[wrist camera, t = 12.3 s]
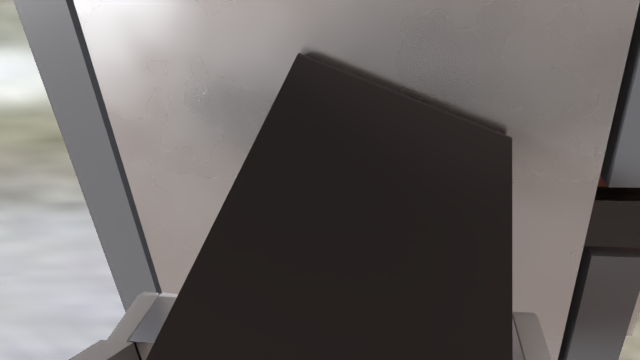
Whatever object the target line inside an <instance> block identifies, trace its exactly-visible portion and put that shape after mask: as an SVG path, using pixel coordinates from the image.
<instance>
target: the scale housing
mask: <svg viewBox="0 0 640 360" xmlns="http://www.w3.org/2000/svg"><path fill="white" fill-rule="evenodd" d="M13 1H14V4H15V6H16V9H17V12H18V15H19V17H20V20H21V23H22V26H23V29H24V31H25V34H26V37H27V40H28V42H29V45H30V48H31V51H32V54H33V56H34V59H35V62H36V65H37V67H38V70H39V73H40V76H41V79H42V81H43V84H44V87H45V90H46V92H47V95H48V98H49V101H50V103H51V106H52V109H53V112H54V115H55V117H56V120H57V123H58V126H59V128H60V131H61V134H62V137H63V140H64V142H65V145H66V148H67V151H68V153H69V156H70V159H71V162H72V165H73V167H74V170H75V173H76V176H77V178H78V181H79V184H80V187H81V190H82V192H83V195H84V198H85V201H86V203H87V206H88V209H89V212H90V215H91V217H92V220H93V223H94V226H95V228H96V231H97V234H98V237H99V240H100V242H101V245H102V248H103V251H104V253H105V256H106V259H107V262H108V264H109V267H110V270H111V273H112V276H113V278H114V281H115V284H116V287H117V289H118V292H119V295H120V298H121V301H122V303H123V306H124V309H125V312H127V311H128V309H129V308H130V306H131V305H132V303H133V302H134V301H135V299H136V298H137V296H138V295H139V294H141V293H143V292H154V293H162V291H161V287H160V284H159V281H158V278H157V274H156V271H155V268H154V264H153V261H152V258H151V255H150V251H149V248H148V245H147V241H146V238H145V235H144V231H143V228H142V225H141V222H140V218H139V215H138V212H137V208H136V205H135V202H134V199H133V195H132V192H131V189H130V185H129V182H128V179H127V176H126V172H125V169H124V166H123V162H122V159H121V156H120V153H119V149H118V146H117V143H116V139H115V136H114V133H113V129H112V126H111V123H110V120H109V116H108V113H107V110H106V106H105V103H104V100H103V97H102V93H101V90H100V87H99V83H98V80H97V77H96V74H95V70H94V67H93V64H92V60H91V57H90V54H89V50H88V47H87V44H86V41H85V37H84V34H83V31H82V27H81V24H80V21H79V18H78V14H77V11H76V8H75V4H74V1H73V0H13ZM600 176H601V177H602V179H603V180H604V182H605V183H606V184H607V186H608V187H619V188H640V3H639V7H638V12H637V16H636V20H635V25H634V29H633V33H632V38H631V42H630V46H629V51H628V55H627V60H626V64H625V68H624V73H623V77H622V81H621V86H620V90H619V94H618V99H617V103H616V108H615V112H614V116H613V121H612V125H611V129H610V134H609V138H608V142H607V147H606V151H605V156H604V160H603V164H602V169H601V173H600ZM639 312H640V248H631V247H597V246H584V247H583V252H582V256H581V260H580V265H579V269H578V273H577V278H576V282H575V286H574V291H573V295H572V300H571V304H570V308H569V313H568V317H567V321H566V326H565V330H564V334H563V339H562V343H561V348H560V352H559V356H558V360H618V359H619V355H620V352H621V349H622V346H623V343H624V340H625V336H626V335H627V336H632V334H633V331H634V328H635V325H636V322H637V319H638V315H639Z"/></svg>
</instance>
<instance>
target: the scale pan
mask: <svg viewBox="0 0 640 360" xmlns="http://www.w3.org/2000/svg"><path fill="white" fill-rule="evenodd" d="M73 1H74V4H75V8H76V11H77V14H78V18H79V21H80V24H81V27H82V31H83V34H84V37H85V41H86V44H87V47H88V50H89V54H90V57H91V60H92V64H93V67H94V70H95V74H96V77H97V80H98V83H99V87H100V90H101V93H102V97H103V100H104V103H105V106H106V110H107V113H108V116H109V120H110V123H111V126H112V129H113V133H114V136H115V139H116V143H117V146H118V149H119V153H120V156H121V159H122V162H123V166H124V169H125V172H126V176H127V179H128V182H129V185H130V189H131V192H132V195H133V199H134V202H135V205H136V208H137V212H138V215H139V218H140V222H141V225H142V228H143V231H144V235H145V238H146V241H147V245H148V248H149V251H150V255H151V258H152V261H153V264H154V268H155V271H156V274H157V278H158V281H159V284H160V287H161V291H162V293H172V294H179V292H180V290H181V288H182V286H183V284H184V282H185V280H186V278H187V276H188V274H189V272H190V270H191V268H192V266H193V264H194V262H195V260H196V258H197V256H198V254H199V252H200V250H201V248H202V246H203V244H204V242H205V240H206V238H207V236H208V234H209V232H210V229H211V227H212V225H213V223H214V221H215V219H216V217H217V215H218V213H219V211H220V209H221V207H222V205H223V203H224V201H225V199H226V197H227V195H228V193H229V191H230V189H231V187H232V185H233V183H234V181H235V179H236V177H237V175H238V173H239V171H240V169H241V167H242V165H243V163H244V161H245V159H246V157H247V155H248V153H249V151H250V149H251V147H252V145H253V143H254V141H255V139H256V137H257V135H258V133H259V131H260V129H261V127H262V125H263V123H264V121H265V119H266V117H267V115H268V113H269V111H270V109H271V107H272V105H273V103H274V101H275V99H276V97H277V95H278V93H279V91H280V89H281V87H282V85H283V83H284V81H285V79H286V77H287V74H288V72H289V70H290V68H291V66H292V64H293V62H294V60H295V58H296V56H297V54H298V53H301V54H304V55H306V56H309V57H311V58H314V59H316V60H319V61H321V62H324V63H326V64H329V65H331V66H334V67H336V68H339V69H341V70H344V71H346V72H349V73H351V74H354V75H356V76H359V77H362V78H364V79H367V80H369V81H372V82H374V83H377V84H379V85H382V86H384V87H387V88H389V89H392V90H394V91H397V92H399V93H402V94H404V95H407V96H409V97H412V98H415V99H417V100H420V101H422V102H425V103H427V104H430V105H432V106H435V107H437V108H440V109H442V110H445V111H447V112H450V113H452V114H455V115H457V116H460V117H462V118H465V119H468V120H470V121H473V122H475V123H478V124H480V125H483V126H485V127H488V128H490V129H493V130H495V131H498V132H500V133H503V134H505V135H508V136H510V137H512V312H528V313H535V314H536V315H537V316H538V319H539V322H540V325H541V328H542V331H543V334H544V337H545V340H546V343H547V347H548V350H549V353H550V356H551V359H552V360H558V356H559V352H560V348H561V343H562V339H563V334H564V330H565V326H566V321H567V317H568V313H569V308H570V304H571V300H572V295H573V291H574V286H575V282H576V278H577V273H578V269H579V265H580V260H581V256H582V252H583V247H584V246H597V247H631V248H640V188H619V187H598V182H599V177H600V173H601V169H602V164H603V160H604V156H605V151H606V147H607V142H608V138H609V134H610V129H611V125H612V121H613V116H614V112H615V108H616V103H617V99H618V94H619V90H620V86H621V81H622V77H623V73H624V68H625V64H626V60H627V55H628V51H629V46H630V42H631V38H632V33H633V29H634V25H635V20H636V16H637V12H638V7H639V3H640V0H73Z"/></svg>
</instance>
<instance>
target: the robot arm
mask: <svg viewBox="0 0 640 360" xmlns="http://www.w3.org/2000/svg"><path fill="white" fill-rule="evenodd" d="M177 296H178V294H172V293H154V292H143V293H141V294H139V295H138V296H137V298H136V299H135V301H134V302H133V303H132V305H131V306H130V308H129V309H128V311H127V312H126V313H125V315H124V316H123V318H122V319H121V321H120V322H119V323H118V325H117V326H116V328H115V329H114V331H113V332H112V333H111V335H110V336H109V338H108V339H107V340H100V341H99V342H97V343H95V344H94V345H92V346H90V347H89V348H87V349H86V350H84V351H82V352H81V353H79V354H77V355H76V356H74V357H72V358H71V359H69V360H146V358H147V356H148V354H149V352H150V350H151V348H152V346H153V344H154V342H155V340H156V338H157V336H158V334H159V332H160V330H161V328H162V326H163V324H164V322H165V320H166V318H167V316H168V314H169V312H170V310H171V308H172V306H173V304H174V302H175V300H176V298H177ZM512 338H513V360H552V359H551V356H550V353H549V350H548V347H547V343H546V340H545V337H544V334H543V331H542V328H541V325H540V322H539V319H538V316H537V315H536V314H535V313H528V312H512Z"/></svg>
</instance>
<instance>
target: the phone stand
mask: <svg viewBox="0 0 640 360" xmlns="http://www.w3.org/2000/svg"><path fill="white" fill-rule="evenodd" d="M146 360H513V338H512V137H510V136H508V135H505V134H503V133H500V132H498V131H495V130H493V129H490V128H488V127H485V126H483V125H480V124H478V123H475V122H473V121H470V120H468V119H465V118H462V117H460V116H457V115H455V114H452V113H450V112H447V111H445V110H442V109H440V108H437V107H435V106H432V105H430V104H427V103H425V102H422V101H420V100H417V99H415V98H412V97H409V96H407V95H404V94H402V93H399V92H397V91H394V90H392V89H389V88H387V87H384V86H382V85H379V84H377V83H374V82H372V81H369V80H367V79H364V78H362V77H359V76H356V75H354V74H351V73H349V72H346V71H344V70H341V69H339V68H336V67H334V66H331V65H329V64H326V63H324V62H321V61H319V60H316V59H314V58H311V57H309V56H306V55H304V54H301V53H298V54H297V56H296V58H295V60H294V62H293V64H292V66H291V68H290V70H289V72H288V74H287V77H286V79H285V81H284V83H283V85H282V87H281V89H280V91H279V93H278V95H277V97H276V99H275V101H274V103H273V105H272V107H271V109H270V111H269V113H268V115H267V117H266V119H265V121H264V123H263V125H262V127H261V129H260V131H259V133H258V135H257V137H256V139H255V141H254V143H253V145H252V147H251V149H250V151H249V153H248V155H247V157H246V159H245V161H244V163H243V165H242V167H241V169H240V171H239V173H238V175H237V177H236V179H235V181H234V183H233V185H232V187H231V189H230V191H229V193H228V195H227V197H226V199H225V201H224V203H223V205H222V207H221V209H220V211H219V213H218V215H217V217H216V219H215V221H214V223H213V225H212V227H211V229H210V232H209V234H208V236H207V238H206V240H205V242H204V244H203V246H202V248H201V250H200V252H199V254H198V256H197V258H196V260H195V262H194V264H193V266H192V268H191V270H190V272H189V274H188V276H187V278H186V280H185V282H184V284H183V286H182V288H181V290H180V292H179V294H178V296H177V298H176V300H175V302H174V304H173V306H172V308H171V310H170V312H169V314H168V316H167V318H166V320H165V322H164V324H163V326H162V328H161V330H160V332H159V334H158V336H157V338H156V340H155V342H154V344H153V346H152V348H151V350H150V352H149V354H148V356H147V358H146Z"/></svg>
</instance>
